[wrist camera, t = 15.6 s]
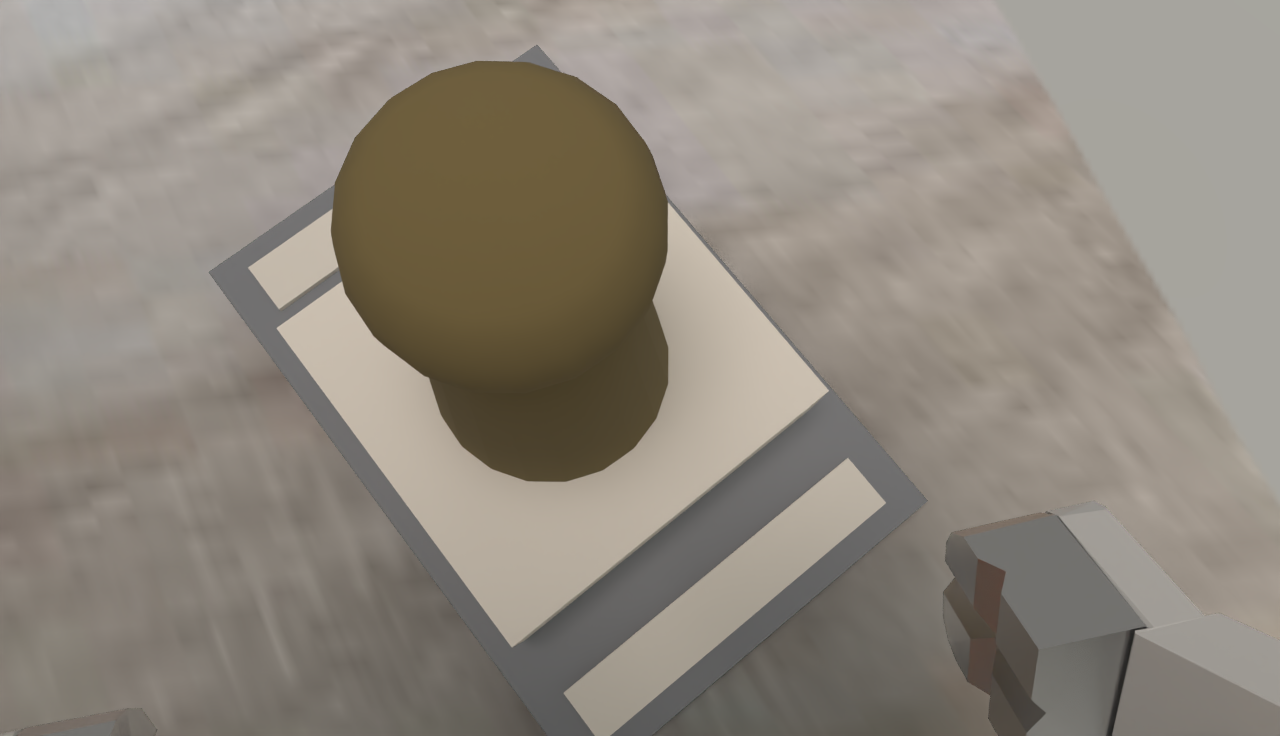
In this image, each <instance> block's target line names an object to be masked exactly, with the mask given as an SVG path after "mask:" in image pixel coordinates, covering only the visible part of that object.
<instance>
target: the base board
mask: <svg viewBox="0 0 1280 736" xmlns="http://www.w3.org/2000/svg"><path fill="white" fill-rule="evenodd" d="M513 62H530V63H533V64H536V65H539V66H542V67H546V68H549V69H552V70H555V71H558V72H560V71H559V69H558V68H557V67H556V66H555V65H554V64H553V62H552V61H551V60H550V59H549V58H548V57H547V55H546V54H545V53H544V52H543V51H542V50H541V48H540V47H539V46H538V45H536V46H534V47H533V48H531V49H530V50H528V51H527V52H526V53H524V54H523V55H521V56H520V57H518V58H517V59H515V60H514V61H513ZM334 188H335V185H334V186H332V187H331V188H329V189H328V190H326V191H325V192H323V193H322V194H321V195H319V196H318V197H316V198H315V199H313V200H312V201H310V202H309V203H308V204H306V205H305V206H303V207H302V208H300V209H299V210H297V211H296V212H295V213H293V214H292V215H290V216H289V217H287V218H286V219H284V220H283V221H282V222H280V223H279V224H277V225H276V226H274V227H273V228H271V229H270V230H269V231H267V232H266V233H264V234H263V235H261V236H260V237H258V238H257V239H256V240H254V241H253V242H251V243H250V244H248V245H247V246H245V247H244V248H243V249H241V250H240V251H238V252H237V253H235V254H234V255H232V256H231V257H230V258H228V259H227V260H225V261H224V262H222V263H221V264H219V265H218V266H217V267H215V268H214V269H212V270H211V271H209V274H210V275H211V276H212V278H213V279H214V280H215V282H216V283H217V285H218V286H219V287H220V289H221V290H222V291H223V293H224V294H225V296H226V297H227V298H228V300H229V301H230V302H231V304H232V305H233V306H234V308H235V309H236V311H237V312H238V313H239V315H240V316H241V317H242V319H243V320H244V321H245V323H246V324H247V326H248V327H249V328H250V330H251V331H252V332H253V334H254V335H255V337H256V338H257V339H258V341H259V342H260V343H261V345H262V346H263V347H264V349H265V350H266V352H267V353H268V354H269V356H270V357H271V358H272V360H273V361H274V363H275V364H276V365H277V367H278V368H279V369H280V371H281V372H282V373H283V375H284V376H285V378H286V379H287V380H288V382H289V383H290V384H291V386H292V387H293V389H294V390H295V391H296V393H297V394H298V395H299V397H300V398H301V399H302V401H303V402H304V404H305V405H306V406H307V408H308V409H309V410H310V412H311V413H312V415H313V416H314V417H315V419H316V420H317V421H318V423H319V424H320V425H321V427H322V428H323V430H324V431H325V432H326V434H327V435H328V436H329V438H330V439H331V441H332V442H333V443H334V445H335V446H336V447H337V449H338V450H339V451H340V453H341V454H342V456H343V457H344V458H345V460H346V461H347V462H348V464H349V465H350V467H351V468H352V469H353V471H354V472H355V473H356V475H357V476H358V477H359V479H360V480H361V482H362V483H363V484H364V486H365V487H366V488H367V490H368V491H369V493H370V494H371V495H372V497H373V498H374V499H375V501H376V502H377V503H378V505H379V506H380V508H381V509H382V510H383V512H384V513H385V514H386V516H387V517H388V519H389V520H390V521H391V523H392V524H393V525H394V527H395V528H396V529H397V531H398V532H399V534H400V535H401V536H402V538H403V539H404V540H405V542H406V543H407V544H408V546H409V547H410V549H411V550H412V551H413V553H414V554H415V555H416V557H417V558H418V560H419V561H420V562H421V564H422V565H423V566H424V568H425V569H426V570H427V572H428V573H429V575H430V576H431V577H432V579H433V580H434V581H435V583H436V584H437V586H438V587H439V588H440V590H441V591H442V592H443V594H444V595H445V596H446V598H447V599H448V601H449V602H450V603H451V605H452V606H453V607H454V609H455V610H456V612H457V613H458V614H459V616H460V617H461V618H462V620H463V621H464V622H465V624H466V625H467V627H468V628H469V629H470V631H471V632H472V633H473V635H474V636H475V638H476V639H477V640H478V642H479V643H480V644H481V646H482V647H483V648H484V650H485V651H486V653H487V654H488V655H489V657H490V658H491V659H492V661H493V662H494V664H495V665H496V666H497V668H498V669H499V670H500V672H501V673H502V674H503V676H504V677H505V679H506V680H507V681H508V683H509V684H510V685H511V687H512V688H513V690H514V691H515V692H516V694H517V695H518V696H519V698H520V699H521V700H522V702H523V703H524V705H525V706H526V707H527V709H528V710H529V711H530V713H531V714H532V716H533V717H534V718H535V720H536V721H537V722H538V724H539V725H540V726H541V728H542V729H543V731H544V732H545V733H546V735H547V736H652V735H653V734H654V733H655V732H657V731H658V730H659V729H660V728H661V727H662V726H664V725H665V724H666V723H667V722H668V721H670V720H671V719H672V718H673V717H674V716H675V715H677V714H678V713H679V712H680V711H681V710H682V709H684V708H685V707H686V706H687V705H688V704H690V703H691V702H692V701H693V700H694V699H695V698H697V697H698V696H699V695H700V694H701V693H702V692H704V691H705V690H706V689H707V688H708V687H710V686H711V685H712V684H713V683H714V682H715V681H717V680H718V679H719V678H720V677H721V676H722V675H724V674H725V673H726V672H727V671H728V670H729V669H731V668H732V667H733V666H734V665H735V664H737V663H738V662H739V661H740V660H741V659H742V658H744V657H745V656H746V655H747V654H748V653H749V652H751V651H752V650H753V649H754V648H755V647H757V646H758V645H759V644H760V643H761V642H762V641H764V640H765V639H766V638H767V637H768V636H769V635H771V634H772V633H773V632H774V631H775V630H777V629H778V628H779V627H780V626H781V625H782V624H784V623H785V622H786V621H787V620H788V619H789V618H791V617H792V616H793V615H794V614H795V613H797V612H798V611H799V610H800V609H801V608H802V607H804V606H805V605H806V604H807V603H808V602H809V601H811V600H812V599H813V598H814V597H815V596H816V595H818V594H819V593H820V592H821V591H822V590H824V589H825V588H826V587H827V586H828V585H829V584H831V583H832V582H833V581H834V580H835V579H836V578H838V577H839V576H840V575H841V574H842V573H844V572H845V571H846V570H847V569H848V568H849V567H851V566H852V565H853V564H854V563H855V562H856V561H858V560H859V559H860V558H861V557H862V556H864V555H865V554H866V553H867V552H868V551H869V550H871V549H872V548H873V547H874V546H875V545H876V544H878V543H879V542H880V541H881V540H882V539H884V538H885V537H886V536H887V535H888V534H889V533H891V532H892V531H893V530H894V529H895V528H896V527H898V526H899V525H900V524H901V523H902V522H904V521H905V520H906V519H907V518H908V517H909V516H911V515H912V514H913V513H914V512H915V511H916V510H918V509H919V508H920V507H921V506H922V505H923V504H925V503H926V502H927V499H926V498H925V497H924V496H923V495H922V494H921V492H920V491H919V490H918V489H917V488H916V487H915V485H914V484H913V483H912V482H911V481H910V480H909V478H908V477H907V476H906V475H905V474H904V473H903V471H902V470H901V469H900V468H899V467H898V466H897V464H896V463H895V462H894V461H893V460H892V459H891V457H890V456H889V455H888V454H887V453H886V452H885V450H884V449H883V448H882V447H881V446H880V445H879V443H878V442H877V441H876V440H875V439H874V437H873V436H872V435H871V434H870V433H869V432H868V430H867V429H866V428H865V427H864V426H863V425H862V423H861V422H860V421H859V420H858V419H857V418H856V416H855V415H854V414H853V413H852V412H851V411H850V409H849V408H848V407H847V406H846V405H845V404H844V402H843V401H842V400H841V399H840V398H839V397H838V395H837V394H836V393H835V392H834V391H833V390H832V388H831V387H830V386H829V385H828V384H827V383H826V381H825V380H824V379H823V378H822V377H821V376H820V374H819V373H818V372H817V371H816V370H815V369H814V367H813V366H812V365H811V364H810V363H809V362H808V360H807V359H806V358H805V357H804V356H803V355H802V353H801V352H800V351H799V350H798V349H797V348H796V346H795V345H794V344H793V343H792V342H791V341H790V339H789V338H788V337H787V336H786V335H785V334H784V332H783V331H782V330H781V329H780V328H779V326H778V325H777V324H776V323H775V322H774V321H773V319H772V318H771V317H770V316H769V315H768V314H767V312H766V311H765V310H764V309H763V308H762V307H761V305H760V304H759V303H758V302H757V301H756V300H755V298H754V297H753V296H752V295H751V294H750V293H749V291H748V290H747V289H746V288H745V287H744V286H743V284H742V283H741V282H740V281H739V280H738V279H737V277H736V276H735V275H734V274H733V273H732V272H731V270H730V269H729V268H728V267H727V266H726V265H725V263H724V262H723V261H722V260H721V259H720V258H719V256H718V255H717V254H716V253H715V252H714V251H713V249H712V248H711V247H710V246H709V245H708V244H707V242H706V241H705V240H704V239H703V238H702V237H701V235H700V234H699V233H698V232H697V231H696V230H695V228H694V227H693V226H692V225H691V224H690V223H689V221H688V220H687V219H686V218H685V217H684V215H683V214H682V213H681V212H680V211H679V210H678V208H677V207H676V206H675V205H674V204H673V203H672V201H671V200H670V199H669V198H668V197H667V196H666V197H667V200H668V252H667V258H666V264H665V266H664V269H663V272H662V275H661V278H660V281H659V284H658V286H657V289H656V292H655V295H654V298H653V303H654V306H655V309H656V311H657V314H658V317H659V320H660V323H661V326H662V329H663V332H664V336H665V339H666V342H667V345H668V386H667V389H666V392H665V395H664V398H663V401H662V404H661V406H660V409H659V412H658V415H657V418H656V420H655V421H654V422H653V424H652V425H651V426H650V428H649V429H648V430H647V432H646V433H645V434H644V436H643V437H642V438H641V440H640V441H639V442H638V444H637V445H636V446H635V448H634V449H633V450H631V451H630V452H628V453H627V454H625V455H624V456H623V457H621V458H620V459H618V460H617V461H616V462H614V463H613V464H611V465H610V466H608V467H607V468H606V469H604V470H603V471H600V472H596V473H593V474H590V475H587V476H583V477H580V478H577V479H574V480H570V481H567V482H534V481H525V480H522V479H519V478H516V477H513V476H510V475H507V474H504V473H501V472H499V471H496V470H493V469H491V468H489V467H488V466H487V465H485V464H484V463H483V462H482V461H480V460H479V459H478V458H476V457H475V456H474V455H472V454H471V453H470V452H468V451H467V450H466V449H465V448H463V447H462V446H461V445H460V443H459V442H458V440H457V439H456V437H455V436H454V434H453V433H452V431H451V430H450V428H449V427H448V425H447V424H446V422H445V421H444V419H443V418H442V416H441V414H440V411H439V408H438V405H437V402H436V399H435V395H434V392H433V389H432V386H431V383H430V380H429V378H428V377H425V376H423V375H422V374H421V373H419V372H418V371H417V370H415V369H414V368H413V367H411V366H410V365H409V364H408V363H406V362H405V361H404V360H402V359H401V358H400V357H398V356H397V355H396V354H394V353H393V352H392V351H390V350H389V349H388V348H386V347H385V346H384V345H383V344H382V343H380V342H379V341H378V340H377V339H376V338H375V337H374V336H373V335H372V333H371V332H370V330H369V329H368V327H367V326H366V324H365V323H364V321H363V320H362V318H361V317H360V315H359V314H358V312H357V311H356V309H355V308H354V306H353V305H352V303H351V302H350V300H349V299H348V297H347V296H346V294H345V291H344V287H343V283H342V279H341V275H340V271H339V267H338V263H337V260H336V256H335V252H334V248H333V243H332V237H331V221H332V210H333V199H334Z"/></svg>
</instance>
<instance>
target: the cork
mask: <svg viewBox="0 0 1280 736" xmlns="http://www.w3.org/2000/svg"><path fill="white" fill-rule="evenodd" d="M331 237H332V243H333V248H334V252H335V256H336V260H337V263H338V267H339V271H340V275H341V279H342V283H343V287H344V291H345V294H346V296H347V297H348V299H349V300H350V302H351V303H352V305H353V306H354V308H355V309H356V311H357V312H358V314H359V315H360V317H361V318H362V320H363V321H364V323H365V324H366V326H367V327H368V329H369V330H370V332H371V333H372V335H373V336H374V337H375V338H376V339H377V340H378V341H379V342H380V343H382V344H383V345H384V346H385V347H386V348H388V349H389V350H390V351H392V352H393V353H394V354H396V355H397V356H398V357H400V358H401V359H402V360H404V361H405V362H406V363H408V364H409V365H410V366H411V367H413V368H414V369H415V370H417V371H418V372H419V373H421V374H422V375H423V376H425V377H428V378H429V380H430V383H431V386H432V389H433V392H434V395H435V399H436V402H437V405H438V408H439V411H440V414H441V416H442V418H443V419H444V421H445V422H446V424H447V425H448V427H449V428H450V430H451V431H452V433H453V434H454V436H455V437H456V439H457V440H458V442H459V443H460V445H461V446H462V447H463V448H465V449H466V450H467V451H468V452H470V453H471V454H472V455H474V456H475V457H476V458H478V459H479V460H480V461H482V462H483V463H484V464H485V465H487V466H488V467H489V468H491V469H493V470H496V471H499V472H501V473H504V474H507V475H510V476H513V477H516V478H519V479H522V480H525V481H534V482H567V481H570V480H574V479H577V478H580V477H583V476H587V475H590V474H593V473H596V472H600V471H603V470H604V469H606V468H607V467H608V466H610V465H611V464H613V463H614V462H616V461H617V460H618V459H620V458H621V457H623V456H624V455H625V454H627V453H628V452H630V451H631V450H633V449H634V448H635V446H636V445H637V444H638V442H639V441H640V440H641V438H642V437H643V436H644V434H645V433H646V432H647V430H648V429H649V428H650V426H651V425H652V424H653V422H654V421H655V420H656V418H657V415H658V412H659V409H660V406H661V404H662V401H663V398H664V395H665V392H666V389H667V386H668V345H667V342H666V339H665V336H664V332H663V329H662V326H661V323H660V320H659V317H658V314H657V311H656V309H655V306H654V303H653V298H654V295H655V292H656V289H657V286H658V284H659V281H660V278H661V275H662V272H663V269H664V266H665V264H666V258H667V252H668V200H667V197H666V194H665V191H664V188H663V185H662V182H661V179H660V176H659V173H658V171H657V168H656V165H655V162H654V159H653V156H652V154H651V152H650V150H649V148H648V146H647V145H646V143H645V141H644V140H643V139H642V138H641V136H640V135H639V134H638V132H637V131H636V130H635V128H634V127H633V126H632V124H631V123H630V122H629V121H628V119H627V118H626V117H625V115H624V114H623V113H622V111H621V110H620V109H619V108H618V106H617V105H616V104H615V103H613V102H612V101H610V100H609V99H607V98H606V97H604V96H603V95H602V94H600V93H599V92H597V91H596V90H594V89H593V88H591V87H590V86H588V85H587V84H586V83H584V82H583V81H581V80H580V79H578V78H577V77H574V76H571V75H568V74H565V73H561V72H558V71H555V70H552V69H549V68H546V67H542V66H539V65H536V64H533V63H530V62H502V61H475V62H471V63H467V64H464V65H460V66H456V67H453V68H449V69H445V70H441V71H438V72H434V73H431V74H430V75H428V76H426V77H425V78H423V79H421V80H420V81H418V82H416V83H415V84H413V85H411V86H410V87H408V88H407V89H405V90H403V91H402V92H400V93H398V94H397V95H395V96H393V97H392V98H391V99H389V100H388V101H387V102H386V103H385V105H384V106H383V107H382V108H381V109H380V110H379V111H378V112H377V114H376V115H375V116H374V117H373V118H372V119H371V120H370V121H369V123H368V124H367V125H366V126H365V127H364V128H363V129H362V130H361V132H360V133H359V134H358V135H357V136H356V137H355V139H354V141H353V143H352V146H351V148H350V150H349V152H348V155H347V157H346V159H345V161H344V163H343V166H342V168H341V170H340V172H339V175H338V177H337V179H336V181H335V188H334V199H333V210H332V221H331Z"/></svg>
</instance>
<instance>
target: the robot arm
mask: <svg viewBox="0 0 1280 736" xmlns="http://www.w3.org/2000/svg"><path fill="white" fill-rule="evenodd" d="M945 561H946V563H947V565H948V566H949V568H950V570H951V571H952V573H953V575H954V576H955V578H954V579H953V581H952V582H951V583H950V584H949V585H948V587H947V588H946V589H945V590H944V592H943V618H944V623H945V628H946V632H947V637H948V641H949V644H950V646H951V649H952V651H953V654H954V656H955V659H956V661H957V663H958V665H959V667H960V669H961V671H962V672H963V674H964V676H965V678H966V680H967V682H969V683H971V684H972V685H974V686H976V687H977V688H979V689H981V690H982V691H984V692H986V693H987V694H989V695H990V702H989V713H988V719H989V721H990V723H991V724H992V726H993V728H994V730H995V732H996V733H997V735H998V736H1280V640H1279V639H1276V638H1274V637H1272V636H1270V635H1268V634H1265V633H1263V632H1261V631H1259V630H1256V629H1254V628H1252V627H1250V626H1248V625H1245V624H1243V623H1241V622H1239V621H1237V620H1234V619H1232V618H1230V617H1228V616H1225V615H1223V614H1221V613H1216V614H1211V615H1205V616H1204V615H1203V613H1202V612H1201V611H1200V610H1199V609H1198V608H1197V607H1196V606H1195V605H1194V603H1193V602H1192V601H1191V600H1190V599H1189V598H1188V597H1187V596H1186V595H1185V594H1184V592H1183V591H1182V590H1181V589H1180V588H1179V587H1178V586H1177V585H1176V584H1175V583H1174V581H1173V580H1172V579H1171V578H1170V577H1169V576H1168V575H1167V574H1166V573H1165V572H1164V570H1163V569H1162V568H1161V567H1160V566H1159V565H1158V564H1157V563H1156V562H1155V560H1154V559H1153V558H1152V557H1151V556H1150V555H1149V554H1148V553H1147V552H1146V551H1145V549H1144V548H1143V547H1142V546H1141V545H1140V544H1139V543H1138V542H1137V541H1136V540H1135V538H1134V537H1133V536H1132V535H1131V534H1130V533H1129V532H1128V531H1127V530H1126V528H1125V527H1124V526H1123V525H1122V524H1121V523H1120V522H1119V521H1118V520H1117V519H1116V517H1115V516H1114V515H1113V514H1112V513H1111V512H1110V511H1109V510H1108V509H1107V508H1106V507H1105V506H1104V505H1102V504H1100V503H1098V502H1096V501H1091V502H1086V503H1082V504H1077V505H1073V506H1068V507H1064V508H1059V509H1055V510H1050V511H1047V512H1045V513H1036V514H1031V515H1027V516H1022V517H1018V518H1013V519H1009V520H1004V521H1000V522H995V523H991V524H986V525H982V526H978V527H973V528H969V529H964V530H960V531H955V532H951V534H950V536H949V538H948V540H947V542H946V555H945ZM156 732H157V729H156V727H155V726H154V725H153V723H152V722H151V720H150V719H149V718H148V716H147V715H146V714H145V712H144V711H143V710H142V708H133V709H122V710H117V711H112V712H106V713H101V714H96V715H90V716H85V717H80V718H74V719H69V720H64V721H58V722H53V723H48V724H42V725H37V726H32V727H26V728H24V729H20V730H15V731H10V732H4V733H0V736H155V735H156Z"/></svg>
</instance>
